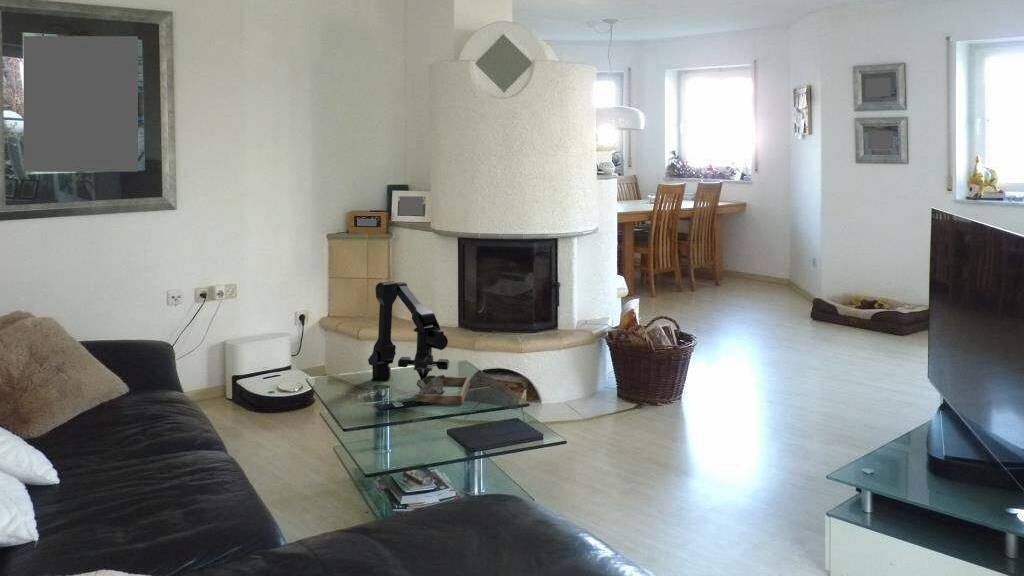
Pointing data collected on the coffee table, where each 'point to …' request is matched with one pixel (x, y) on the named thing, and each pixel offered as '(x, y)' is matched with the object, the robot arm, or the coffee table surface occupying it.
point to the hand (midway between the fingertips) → (423, 385)
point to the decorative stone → (431, 385)
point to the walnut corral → (447, 398)
